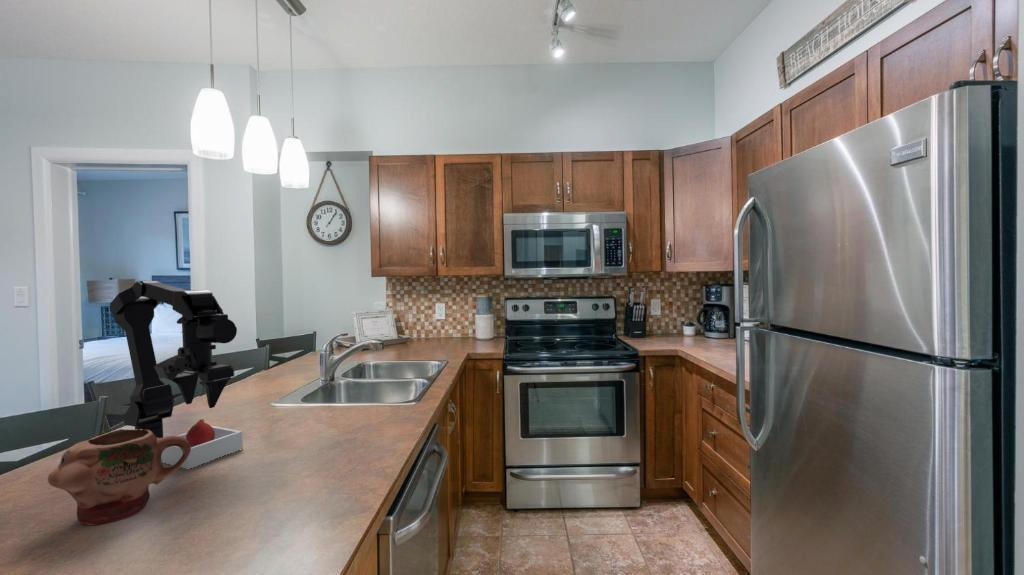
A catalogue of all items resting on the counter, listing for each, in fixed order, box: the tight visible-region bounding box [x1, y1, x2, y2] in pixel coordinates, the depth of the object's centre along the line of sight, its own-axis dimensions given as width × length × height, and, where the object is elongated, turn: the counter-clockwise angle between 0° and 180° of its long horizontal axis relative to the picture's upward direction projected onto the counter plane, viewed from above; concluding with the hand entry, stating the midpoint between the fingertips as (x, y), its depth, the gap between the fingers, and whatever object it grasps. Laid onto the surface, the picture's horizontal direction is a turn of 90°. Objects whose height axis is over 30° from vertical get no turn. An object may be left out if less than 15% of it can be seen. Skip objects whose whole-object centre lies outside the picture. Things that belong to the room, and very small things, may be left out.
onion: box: [186, 418, 215, 447], centre depth 109 cm, size 6×6×8 cm
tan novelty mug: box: [47, 428, 191, 526], centre depth 83 cm, size 20×12×14 cm, turn 133°
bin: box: [161, 425, 244, 470], centre depth 108 cm, size 13×13×4 cm
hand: (200, 405), depth 109 cm, fingers open, 9 cm apart
